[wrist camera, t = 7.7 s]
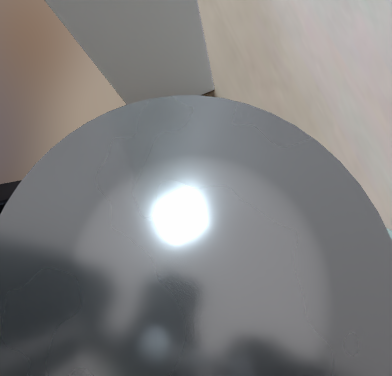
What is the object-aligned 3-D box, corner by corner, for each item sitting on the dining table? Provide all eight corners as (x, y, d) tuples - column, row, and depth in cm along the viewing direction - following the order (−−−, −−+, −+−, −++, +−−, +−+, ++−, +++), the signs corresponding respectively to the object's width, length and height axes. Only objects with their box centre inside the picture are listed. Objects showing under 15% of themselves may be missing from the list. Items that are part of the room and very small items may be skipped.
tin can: (288, 339, 14) (467, 697, 3) (164, 325, 15) (-87, 523, 4) (285, 210, 16) (384, 79, 4) (173, 208, 17) (15, 103, 5)
